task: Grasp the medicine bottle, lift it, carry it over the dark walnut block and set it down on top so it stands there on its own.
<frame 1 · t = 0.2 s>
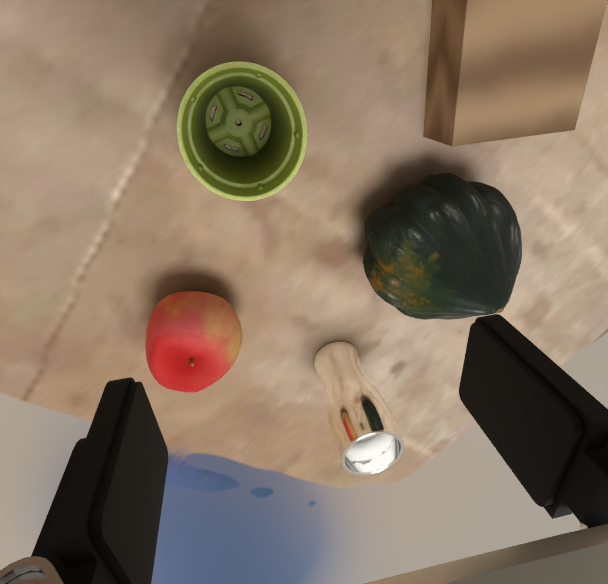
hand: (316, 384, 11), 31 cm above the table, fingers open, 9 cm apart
squash: (414, 228, 44), on the table
plant pot: (239, 122, 35), on the table
walnut block: (486, 61, 37), on the table
apple: (196, 309, 44), on the table
silver metal vase: (335, 358, 52), on the table
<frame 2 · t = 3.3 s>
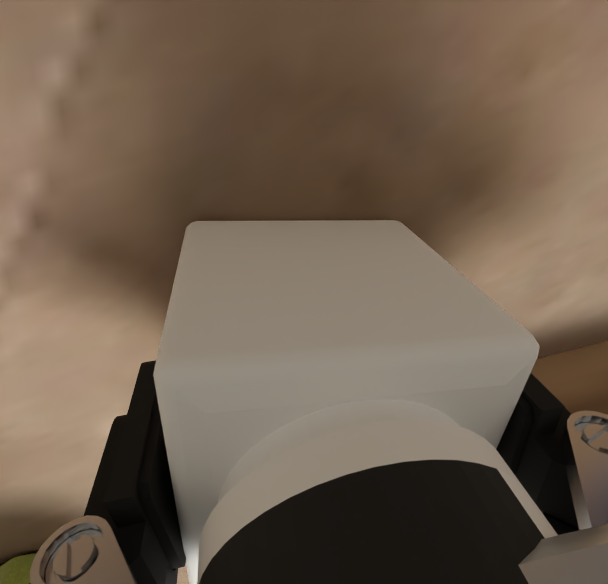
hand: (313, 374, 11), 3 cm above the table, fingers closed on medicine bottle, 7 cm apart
plant pot: (49, 577, 20), on the table
walnut block: (488, 444, 21), on the table
medicine bottle: (293, 307, 14), on the table, touching gripper
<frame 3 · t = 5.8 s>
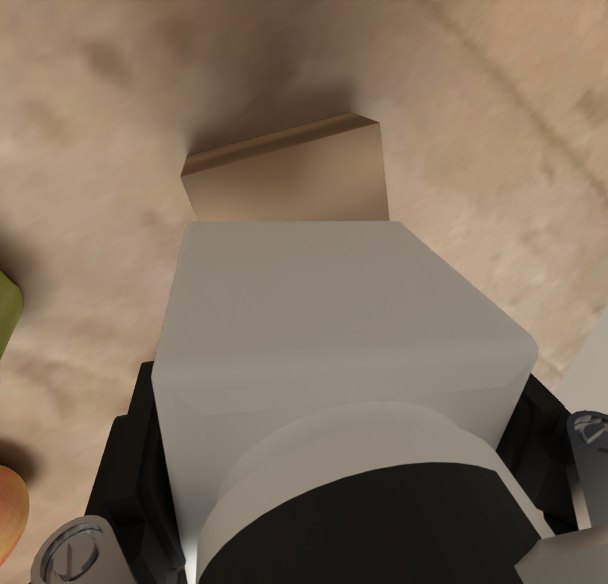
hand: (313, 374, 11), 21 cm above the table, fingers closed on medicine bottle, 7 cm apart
walnut block: (288, 211, 31), on the table
medicine bottle: (292, 308, 14), point 17 cm above the table, touching gripper
when the fingers open (10 cm above the table, at t = 8.4 s): medicine bottle drops 1 cm, resting on walnut block.
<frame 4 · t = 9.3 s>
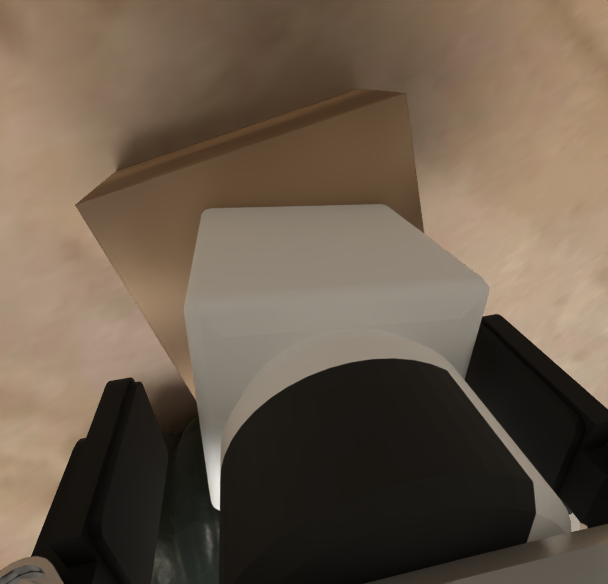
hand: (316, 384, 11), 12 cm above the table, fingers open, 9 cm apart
squash: (221, 452, 29), on the table
walnut block: (276, 240, 21), on the table, touching medicine bottle
medicine bottle: (295, 285, 16), point 5 cm above the table, touching walnut block
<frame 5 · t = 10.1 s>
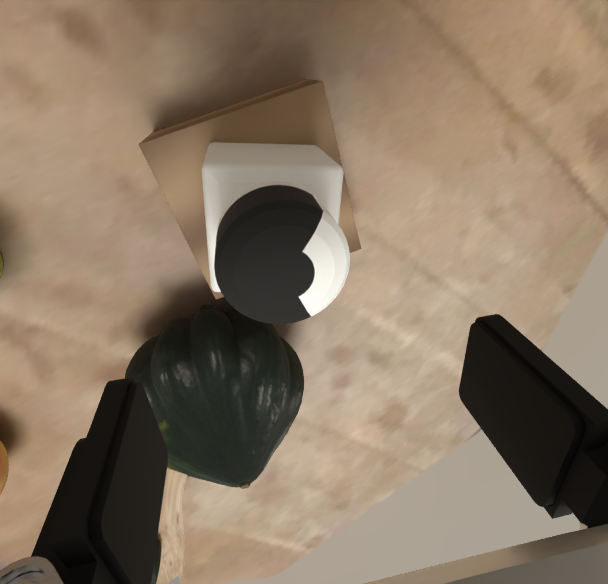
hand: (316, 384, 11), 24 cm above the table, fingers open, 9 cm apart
squash: (220, 346, 39), on the table
walnut block: (256, 181, 32), on the table, touching medicine bottle
medicine bottle: (264, 196, 27), point 5 cm above the table, touching walnut block
silver metal vase: (162, 471, 47), on the table
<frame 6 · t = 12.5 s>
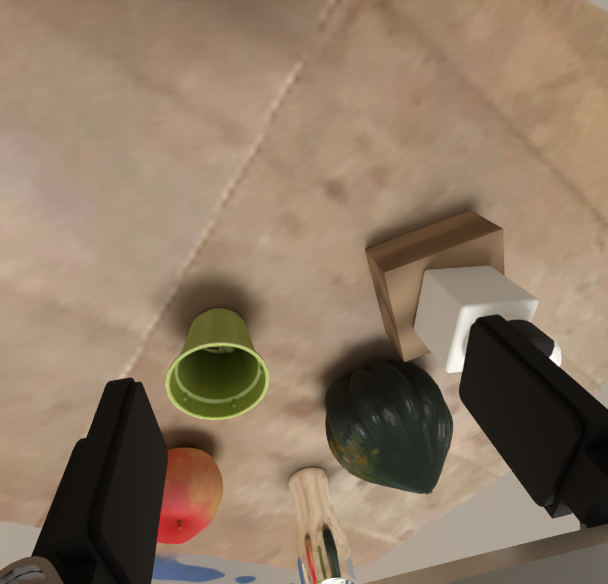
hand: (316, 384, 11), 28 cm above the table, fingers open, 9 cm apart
squash: (371, 385, 52), on the table
plant pot: (219, 329, 43), on the table
walnut block: (423, 274, 45), on the table, touching medicine bottle
medicine bottle: (448, 296, 40), point 5 cm above the table, touching walnut block
apple: (185, 453, 52), on the table
silver metal vase: (307, 478, 59), on the table
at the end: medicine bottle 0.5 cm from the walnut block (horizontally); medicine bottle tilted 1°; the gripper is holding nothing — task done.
